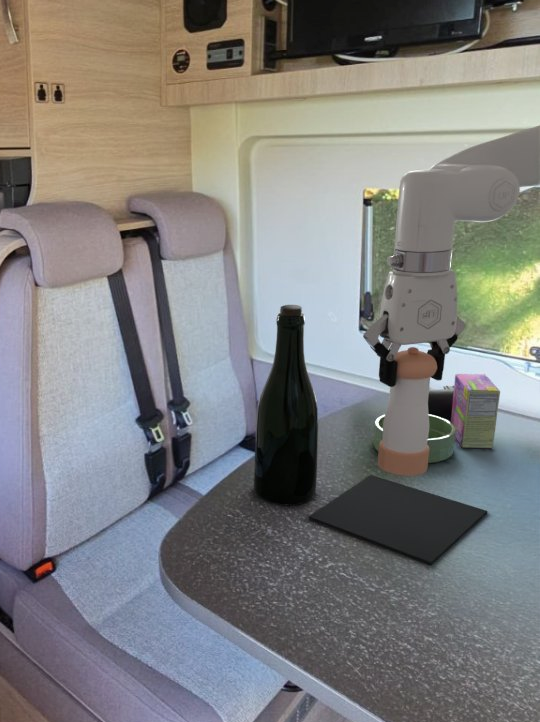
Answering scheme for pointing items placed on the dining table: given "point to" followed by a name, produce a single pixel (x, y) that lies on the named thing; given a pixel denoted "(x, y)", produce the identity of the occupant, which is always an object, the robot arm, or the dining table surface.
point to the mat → (400, 518)
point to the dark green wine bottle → (287, 420)
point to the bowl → (438, 437)
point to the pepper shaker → (407, 416)
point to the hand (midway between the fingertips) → (410, 380)
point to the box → (475, 410)
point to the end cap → (441, 402)
